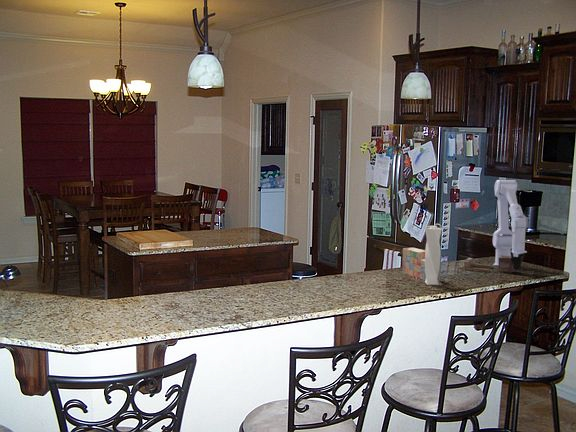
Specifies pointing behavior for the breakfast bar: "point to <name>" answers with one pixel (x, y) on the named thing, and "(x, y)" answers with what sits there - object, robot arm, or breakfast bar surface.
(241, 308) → the breakfast bar surface
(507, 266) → the box
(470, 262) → the cradle
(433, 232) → the skyscraper
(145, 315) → the breakfast bar surface
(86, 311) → the breakfast bar surface
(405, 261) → the stack of blocks
